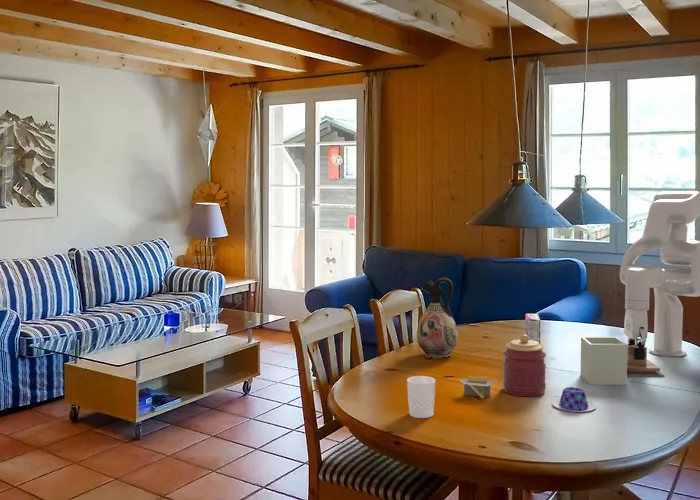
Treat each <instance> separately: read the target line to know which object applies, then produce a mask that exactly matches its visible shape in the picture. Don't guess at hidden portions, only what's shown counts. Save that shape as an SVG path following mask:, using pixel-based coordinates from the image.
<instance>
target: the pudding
mask: <svg viewBox="0 0 700 500" xmlns="http://www.w3.org/2000/svg"><path fill="white" fill-rule="evenodd" d="M561 392H562V393H561V396H560V398H558V399H555V400H553V401H552V403H551V404H552V406H554V407H555V408H557V409H559V410H563V411H568V412H576V413H583V412H590V411H593V410H595V409H596V408H597V406H596V404H594V403H593V402H591V401H589V400H587V395H586V392H585V390H584V389H582V388H580V387H575V386H567V387H565V388H564V389H563V390H562V391H561Z"/></svg>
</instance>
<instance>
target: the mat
mask: <svg viewBox="0 0 700 500" xmlns="http://www.w3.org/2000/svg"><path fill="white" fill-rule="evenodd" d="M628 377H631V378H633V377H638V378H639V377H643V378H645V377H647V378H648V377H649V378H650V377H651V378H655V377H657V378H661V377H662V378H664V377H665V374H663V373H662V372H661V371H654V373H627V378H628Z"/></svg>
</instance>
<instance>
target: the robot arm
mask: <svg viewBox="0 0 700 500" xmlns="http://www.w3.org/2000/svg"><path fill="white" fill-rule="evenodd" d="M699 216H700V192H699V191H679V190H678V191H675V190H674V191H673V190H672V191H661V192H657V193H656V194H655V195H654V197H653V202H652V203H651V204H650V206H649V210H648V214H647V218H646V221H645V224H644V225H645V226H644V228H643V229H644V230H643V233H642V234H643V235H642V236H641V237H640V238H639V239H637V240H636V241H635V242H633V244H632V245H631V246H630V247H628V248H627V250H626V251H625V252H624V254H623V258H622V262H621V265H620V268H619V269H620V270H619V280H620V282H621V283H622V284H623V285H625V292H624V299H625V301H624V309H625V313H624V324H623V325H624V326H623V333H624V335H626V337H627V344H628V345H635V347H636V348H634V359H635V360H644V355H645V347H646V342H647V338H648V331H649V329H648V328H649V327H648V326H649V323H648V321H649V320H648V311H649V310H650V294H651V293H650V289H653V292H654V325H653V326H654V329H653V332H654V333H653V346H650V347H649V348H648V351H649V352H650V354H654V355H656V356H661V357H677V358H678V357H683V356H684V357H685V356H687V351H686V349H684V348H683V346H682V345H683V325H684V324H683V322H684V321H683V320H684V319H683V317H684V306H683V304H682V302H681V300H680V299H679V297H678V296H681V297H682V296H684V297H692V298H693V297H698V298H699V297H700V240H688V229H689V228H688V224H691V223H693V222H694V221H696V219H697V218H698V217H699ZM659 249H660V250H659ZM655 250H659V260H660V261H661V263H662V264H664V265H669V266H677V267H678V266H681V267H690V269H680V268H662V267H660V266H657V265H651V264H650V265H649V264H648V265H647V264H636V263H635V262H636V261H637V260H638V259H639V258H640V257H641V256H643V255H645V254H646V253H650V252H652V251H655Z"/></svg>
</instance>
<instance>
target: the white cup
mask: <svg viewBox="0 0 700 500" xmlns="http://www.w3.org/2000/svg"><path fill="white" fill-rule="evenodd" d="M406 385H407V386H406V387H407V401H408V413H409V416H411V417H412V418H417V419H427V418H432V417H433V416H434V408H435V397H436V379H435V378H434V377H432V376H426V375H413V376H410V377H407V379H406Z"/></svg>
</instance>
